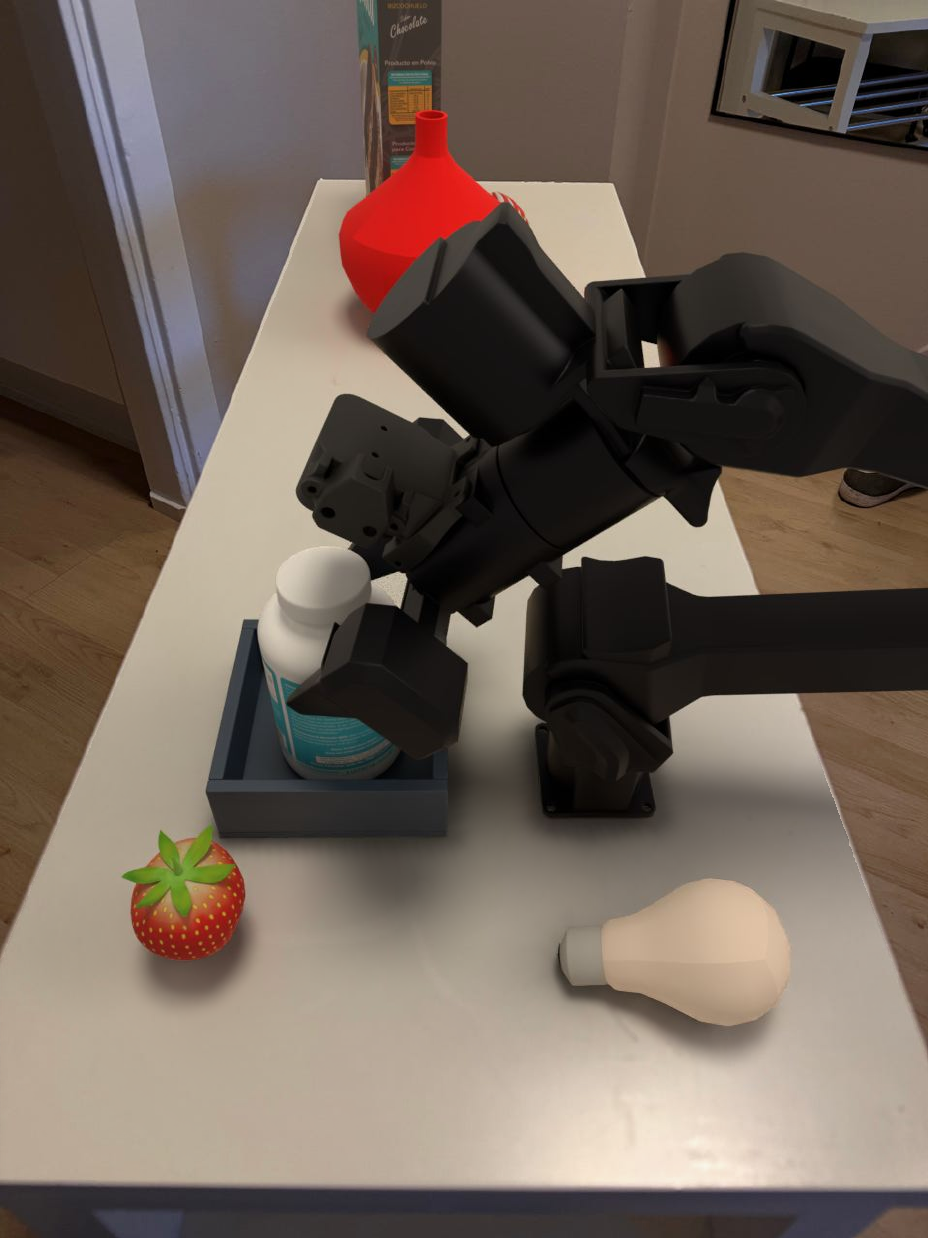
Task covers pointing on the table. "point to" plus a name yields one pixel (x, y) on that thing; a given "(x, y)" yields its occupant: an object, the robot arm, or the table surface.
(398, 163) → the cake mix box
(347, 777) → the pill bottle
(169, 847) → the fruit
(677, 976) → the light bulb
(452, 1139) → the table surface
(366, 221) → the vase
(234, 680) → the bin
